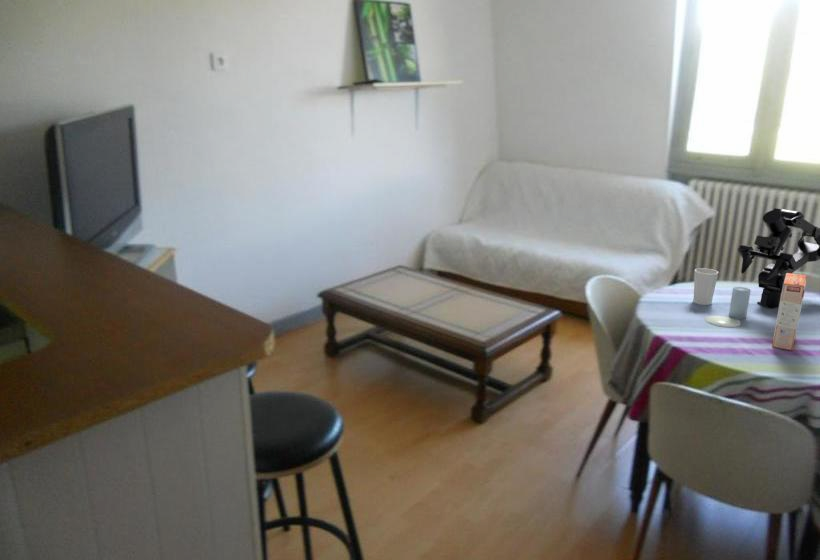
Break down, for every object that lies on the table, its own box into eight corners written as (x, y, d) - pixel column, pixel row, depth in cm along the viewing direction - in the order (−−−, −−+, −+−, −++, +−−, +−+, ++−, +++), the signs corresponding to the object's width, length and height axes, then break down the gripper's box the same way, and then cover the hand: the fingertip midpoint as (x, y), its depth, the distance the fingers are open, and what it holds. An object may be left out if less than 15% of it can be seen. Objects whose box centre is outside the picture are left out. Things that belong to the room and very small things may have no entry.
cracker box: (793, 351, 198) (805, 285, 192) (771, 347, 201) (782, 282, 195) (796, 337, 210) (807, 274, 204) (774, 333, 213) (785, 271, 207)
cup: (709, 299, 247) (714, 268, 243) (717, 306, 239) (721, 274, 236) (687, 298, 247) (691, 267, 244) (694, 305, 240) (698, 273, 236)
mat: (723, 314, 230) (723, 314, 230) (747, 325, 220) (748, 324, 220) (697, 318, 227) (697, 317, 227) (721, 328, 217) (721, 328, 217)
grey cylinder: (737, 313, 232) (741, 286, 229) (749, 318, 227) (754, 290, 224) (725, 314, 230) (729, 287, 227) (737, 320, 225) (741, 292, 222)
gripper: (743, 222, 234) (721, 257, 231) (797, 231, 219) (774, 269, 216) (753, 239, 240) (732, 274, 238) (805, 250, 225) (783, 287, 223)
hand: (754, 276), depth 229 cm, fingers open, 9 cm apart
